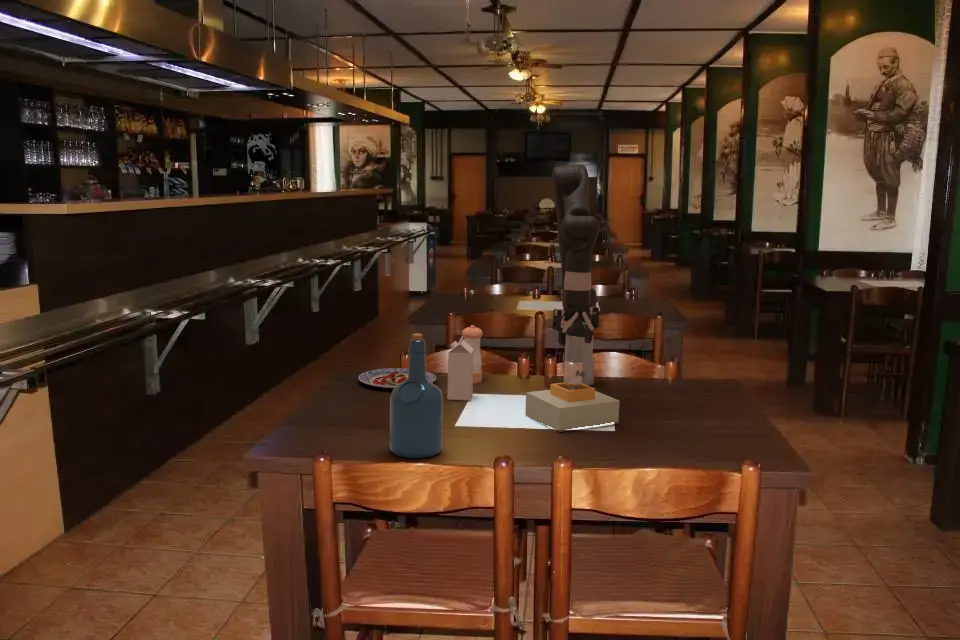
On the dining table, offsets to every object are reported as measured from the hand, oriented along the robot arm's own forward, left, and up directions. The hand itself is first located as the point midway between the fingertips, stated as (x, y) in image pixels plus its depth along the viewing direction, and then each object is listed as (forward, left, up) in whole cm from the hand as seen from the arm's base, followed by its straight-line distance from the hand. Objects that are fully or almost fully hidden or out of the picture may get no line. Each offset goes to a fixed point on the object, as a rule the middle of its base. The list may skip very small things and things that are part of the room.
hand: (575, 344), depth 236 cm
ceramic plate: (+30, -59, -23) cm, 70 cm away
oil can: (0, +1, -15) cm, 15 cm away
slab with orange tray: (0, 0, -22) cm, 22 cm away
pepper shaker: (+6, -52, -23) cm, 57 cm away
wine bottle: (+52, +8, -23) cm, 57 cm away
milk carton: (+19, -34, -23) cm, 45 cm away
